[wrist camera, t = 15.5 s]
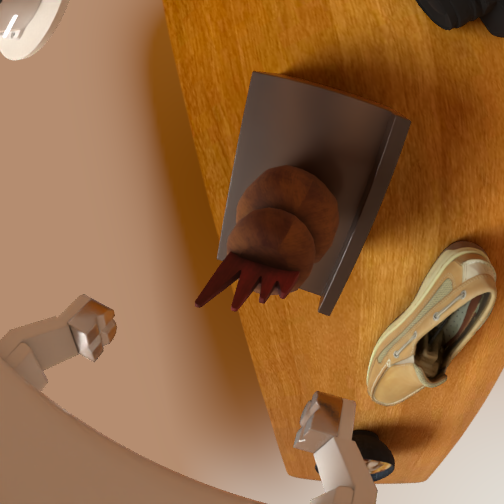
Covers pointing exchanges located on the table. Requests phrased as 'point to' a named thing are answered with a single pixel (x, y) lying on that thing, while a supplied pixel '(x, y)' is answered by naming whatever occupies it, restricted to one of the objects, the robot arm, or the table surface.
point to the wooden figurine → (276, 236)
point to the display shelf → (319, 161)
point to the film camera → (466, 13)
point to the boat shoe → (433, 325)
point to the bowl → (373, 454)
